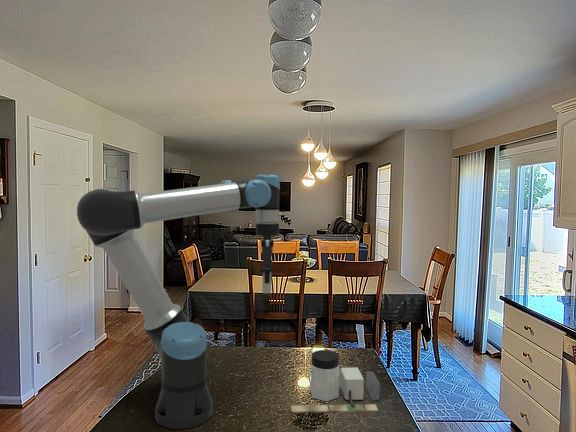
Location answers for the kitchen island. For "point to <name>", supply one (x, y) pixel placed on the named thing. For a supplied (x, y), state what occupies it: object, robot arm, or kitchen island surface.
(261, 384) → the kitchen island surface
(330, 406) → the strip
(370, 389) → the two-tone gray brick
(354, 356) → the kitchen island surface
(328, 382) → the jar
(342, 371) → the carriage
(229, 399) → the kitchen island surface
